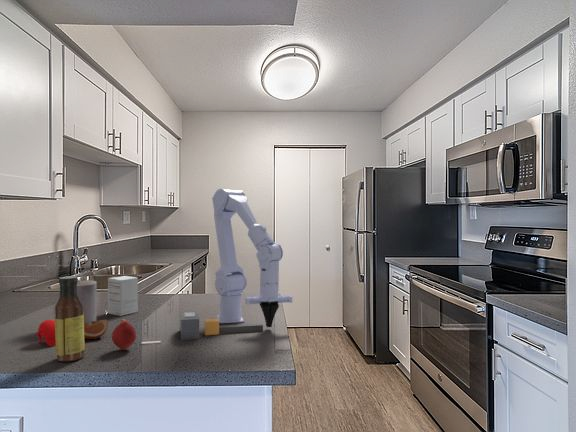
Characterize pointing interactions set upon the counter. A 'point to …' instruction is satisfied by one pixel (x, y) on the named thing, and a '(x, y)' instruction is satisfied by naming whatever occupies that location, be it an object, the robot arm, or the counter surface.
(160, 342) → the white slender bar
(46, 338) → the cap
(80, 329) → the sauce bottle
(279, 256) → the robot arm
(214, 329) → the orange and grey bar
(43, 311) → the counter surface
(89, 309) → the pillar candle
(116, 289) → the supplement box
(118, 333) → the red rounded lump
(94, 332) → the fruit slice
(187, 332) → the housing
